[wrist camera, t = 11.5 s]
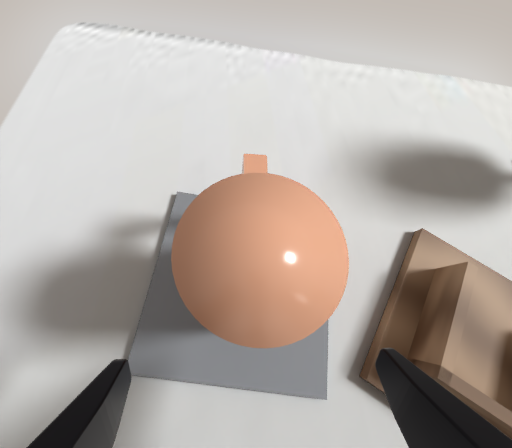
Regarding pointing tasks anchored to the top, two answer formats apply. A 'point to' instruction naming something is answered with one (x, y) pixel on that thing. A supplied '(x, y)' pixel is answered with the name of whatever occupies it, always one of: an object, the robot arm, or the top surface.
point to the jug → (259, 258)
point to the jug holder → (451, 326)
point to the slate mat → (217, 342)
